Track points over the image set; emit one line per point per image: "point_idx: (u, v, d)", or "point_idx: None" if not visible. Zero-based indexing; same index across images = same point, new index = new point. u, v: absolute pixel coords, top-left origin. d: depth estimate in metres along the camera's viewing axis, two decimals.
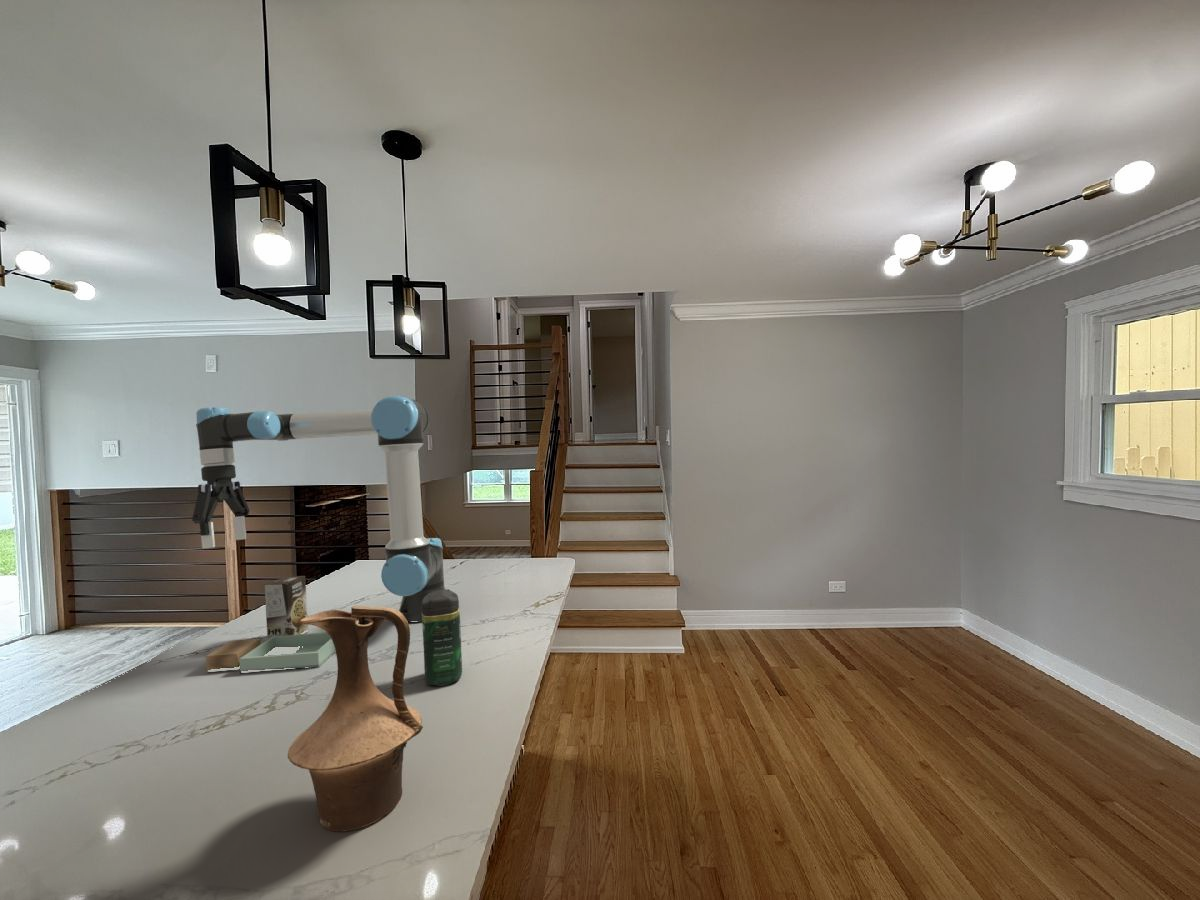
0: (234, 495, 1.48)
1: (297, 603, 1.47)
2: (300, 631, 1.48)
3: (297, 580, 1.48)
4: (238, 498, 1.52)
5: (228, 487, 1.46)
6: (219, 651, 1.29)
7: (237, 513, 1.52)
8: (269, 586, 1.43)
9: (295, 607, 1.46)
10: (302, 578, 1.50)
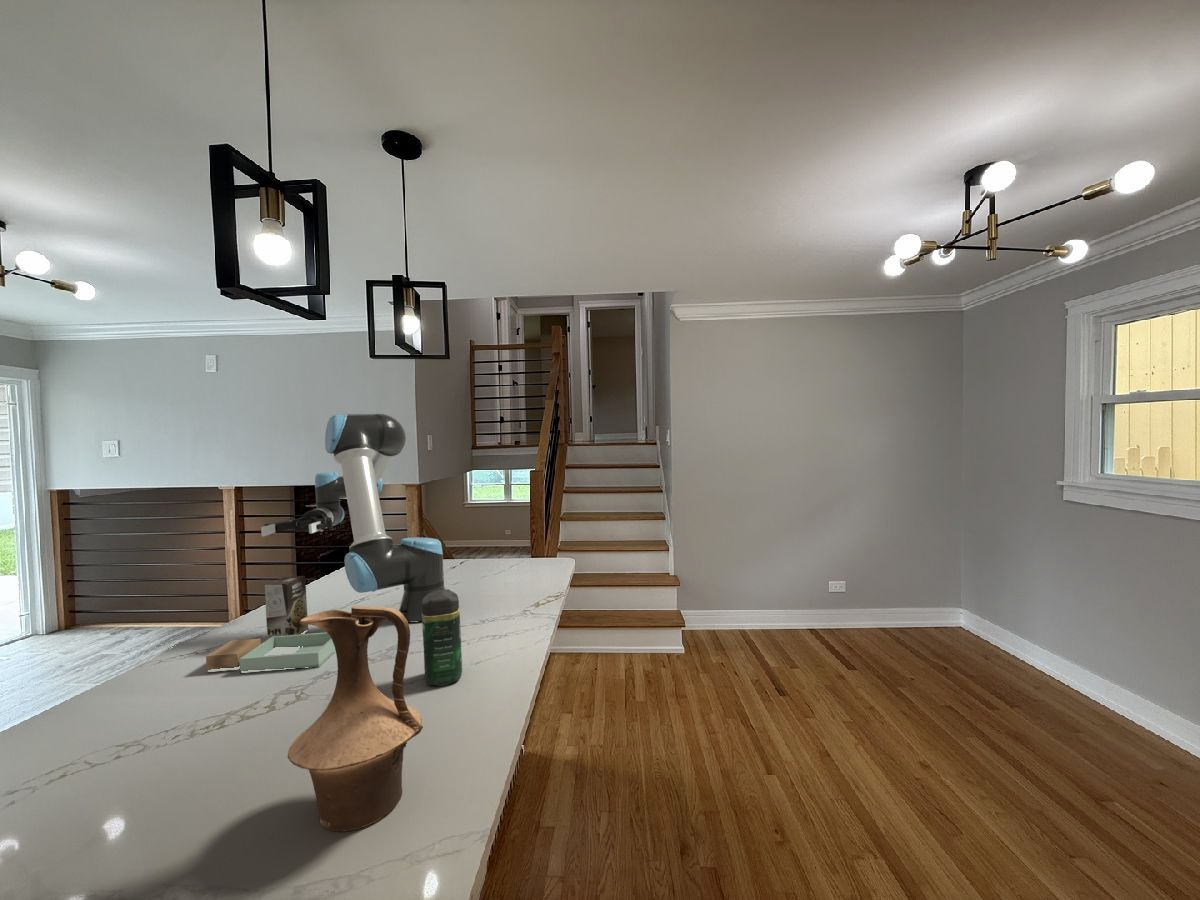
0: (315, 518, 1.74)
1: (297, 603, 1.47)
2: (300, 631, 1.48)
3: (297, 580, 1.48)
4: (326, 522, 1.73)
5: None
6: (219, 651, 1.29)
7: None
8: (269, 586, 1.43)
9: (295, 607, 1.46)
10: (302, 578, 1.50)
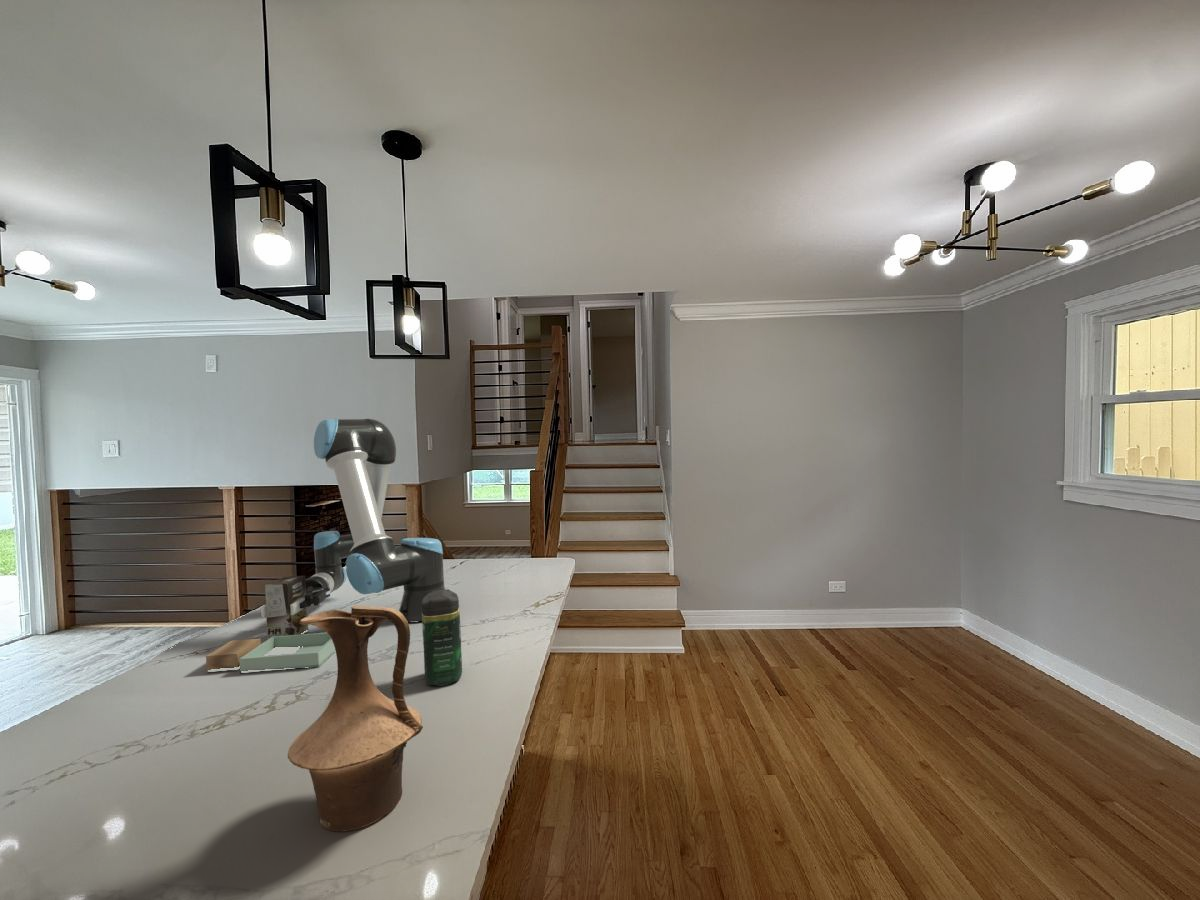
0: (309, 589, 1.57)
1: None
2: (300, 631, 1.48)
3: (297, 580, 1.48)
4: None
5: None
6: (219, 651, 1.29)
7: None
8: (269, 586, 1.43)
9: None
10: (302, 578, 1.50)
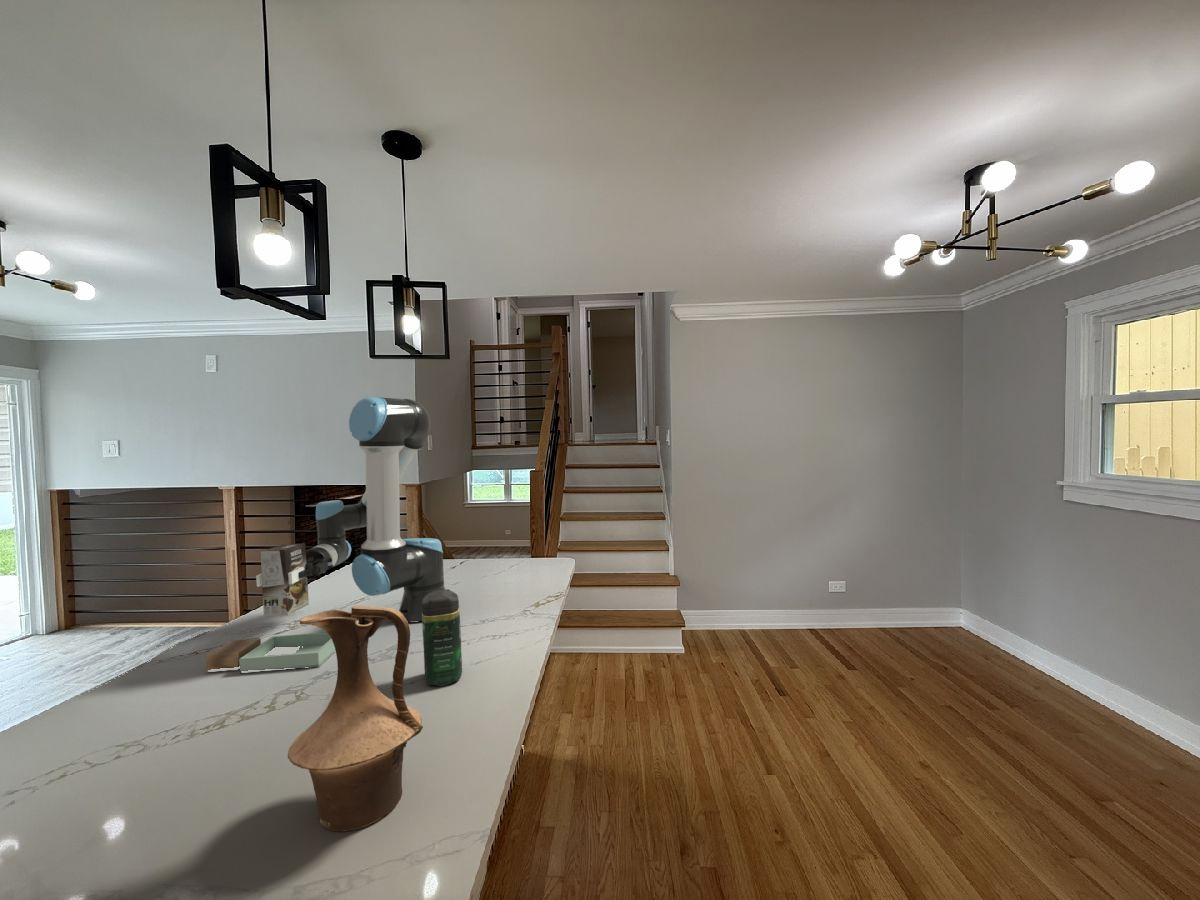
0: (310, 560, 1.44)
1: None
2: (299, 603, 1.35)
3: (296, 547, 1.35)
4: None
5: None
6: (219, 651, 1.29)
7: None
8: (265, 552, 1.30)
9: None
10: (302, 545, 1.38)
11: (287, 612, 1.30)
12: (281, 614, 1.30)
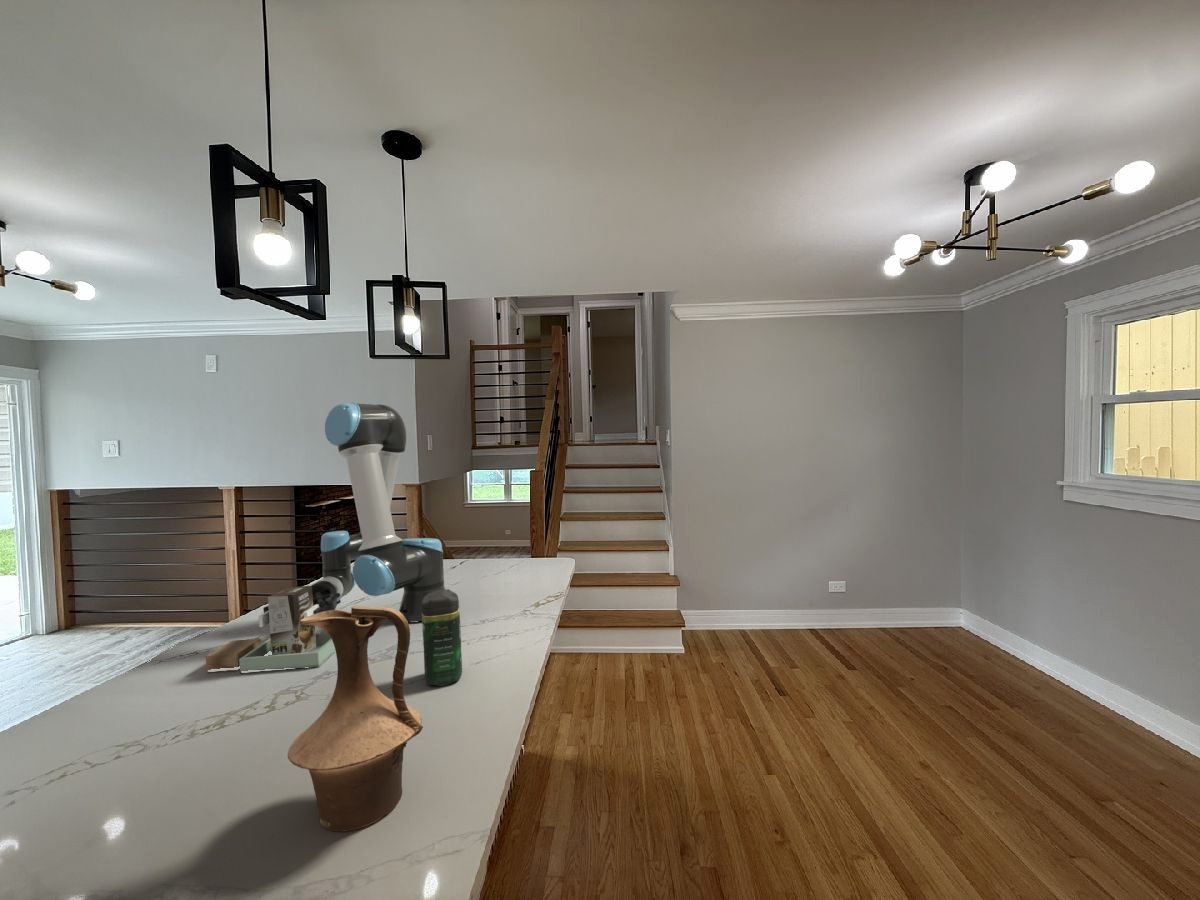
0: (318, 596, 1.42)
1: None
2: (307, 648, 1.33)
3: (304, 590, 1.33)
4: None
5: None
6: (219, 651, 1.29)
7: None
8: (273, 598, 1.28)
9: None
10: (309, 588, 1.35)
11: None
12: None
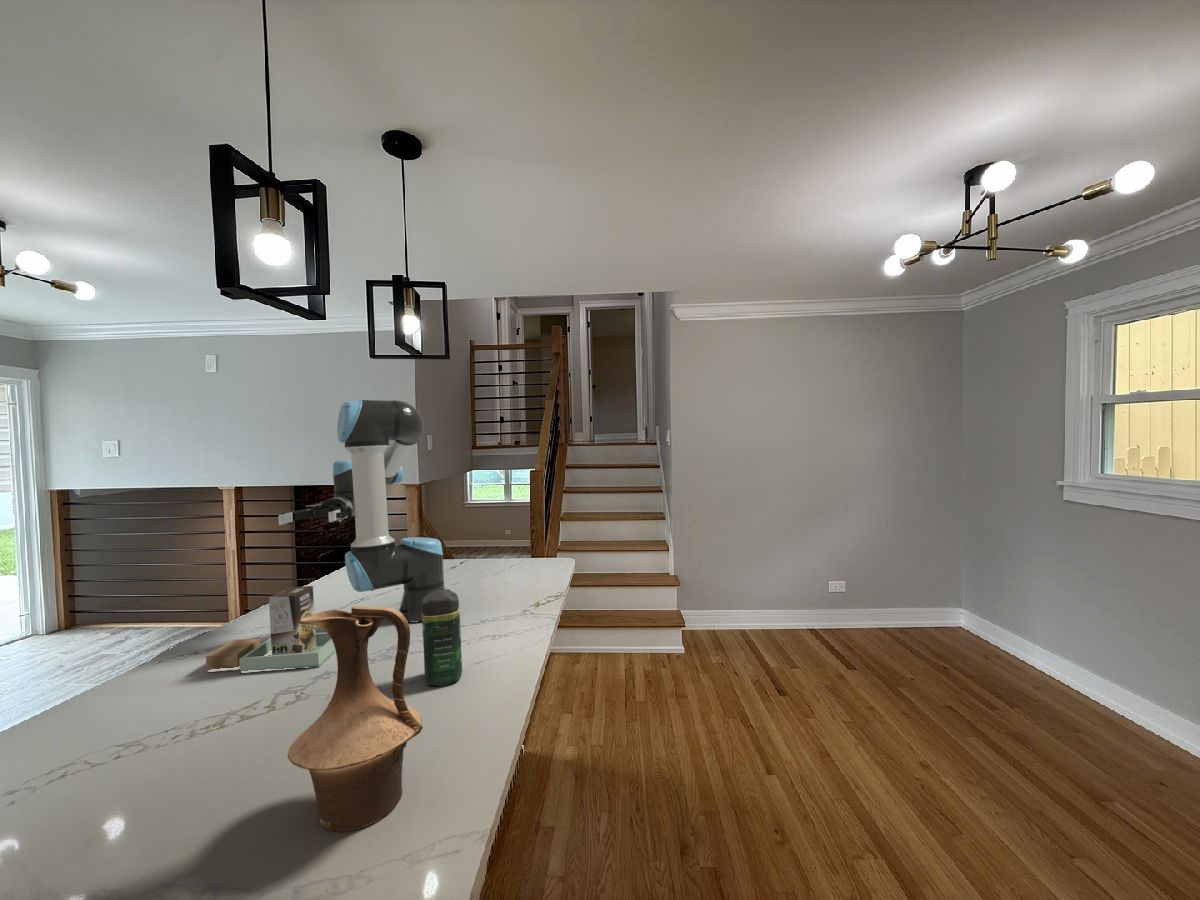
0: (334, 506, 1.65)
1: None
2: (307, 648, 1.33)
3: (305, 591, 1.33)
4: (346, 510, 1.64)
5: None
6: (219, 651, 1.29)
7: None
8: (274, 598, 1.28)
9: None
10: (310, 589, 1.35)
11: None
12: None
